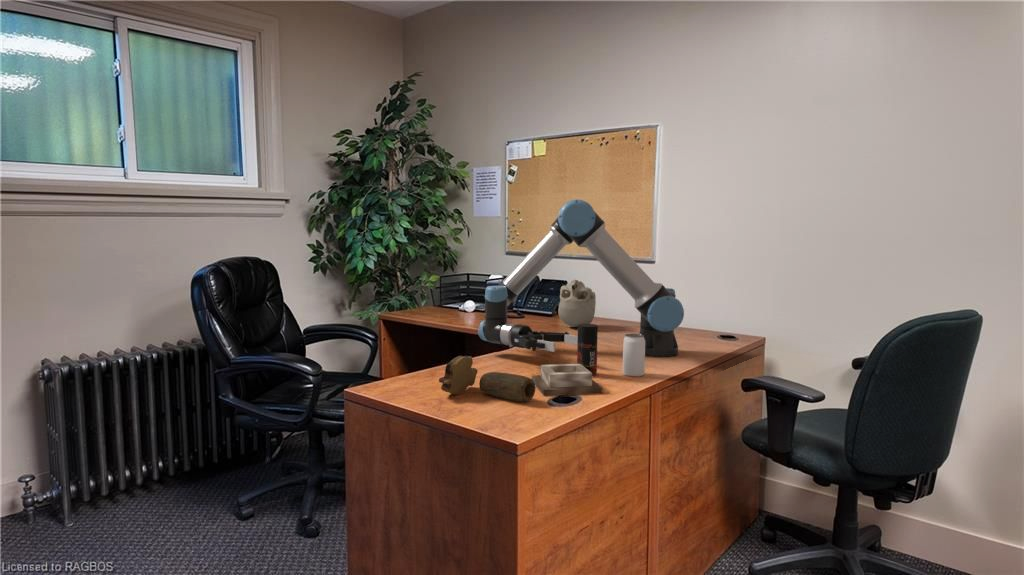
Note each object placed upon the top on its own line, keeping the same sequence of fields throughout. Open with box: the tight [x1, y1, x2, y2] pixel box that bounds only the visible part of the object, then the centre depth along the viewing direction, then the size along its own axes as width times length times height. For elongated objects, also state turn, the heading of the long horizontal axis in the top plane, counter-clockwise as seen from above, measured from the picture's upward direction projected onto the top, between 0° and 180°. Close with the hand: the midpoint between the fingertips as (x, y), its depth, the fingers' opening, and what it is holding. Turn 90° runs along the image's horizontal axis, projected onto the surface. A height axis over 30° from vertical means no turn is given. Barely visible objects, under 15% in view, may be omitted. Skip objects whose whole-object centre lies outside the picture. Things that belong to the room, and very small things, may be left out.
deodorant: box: [576, 323, 599, 377], centre depth 182 cm, size 6×6×15 cm
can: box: [622, 333, 646, 377], centre depth 183 cm, size 6×6×12 cm
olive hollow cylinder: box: [478, 371, 536, 403], centre depth 157 cm, size 15×7×7 cm, turn 56°
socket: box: [531, 363, 603, 397], centre depth 168 cm, size 16×16×5 cm
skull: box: [557, 279, 597, 328], centre depth 267 cm, size 20×15×22 cm
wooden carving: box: [438, 355, 478, 396], centre depth 161 cm, size 16×5×10 cm, turn 159°
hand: (568, 344), depth 187 cm, fingers open, 13 cm apart
